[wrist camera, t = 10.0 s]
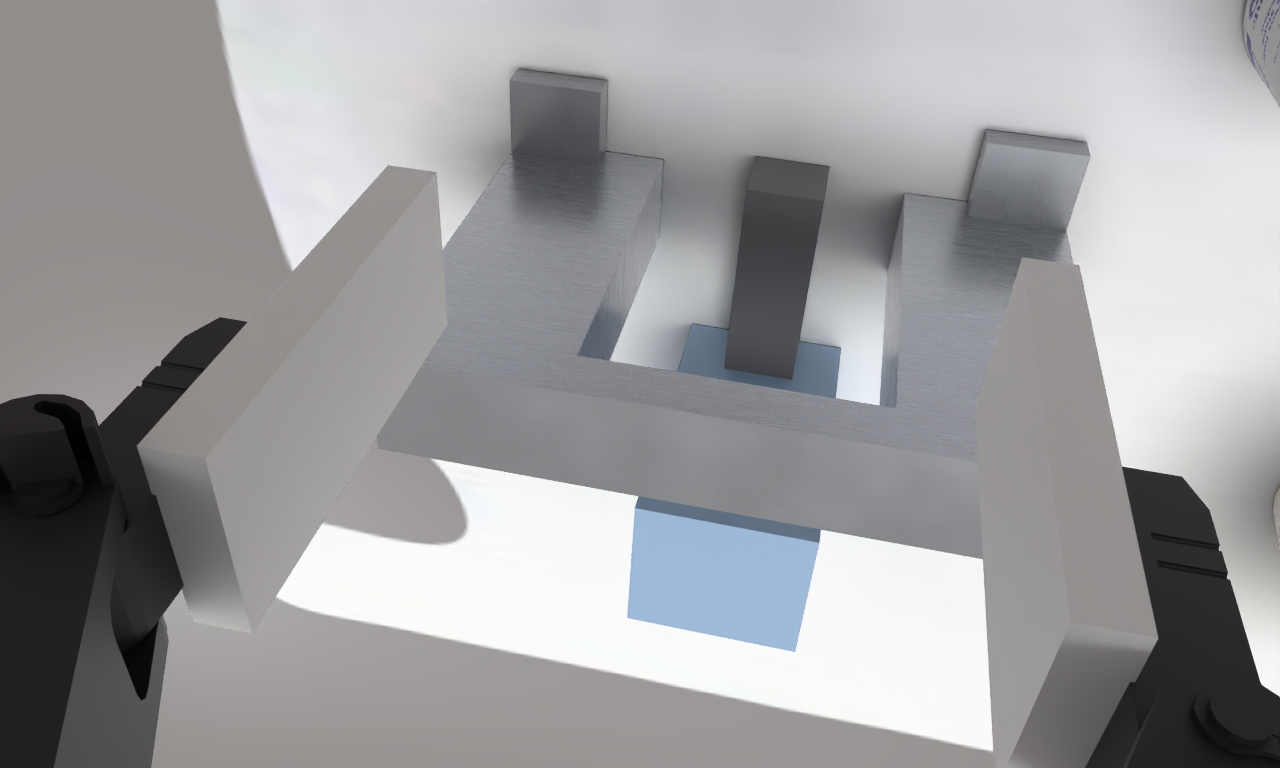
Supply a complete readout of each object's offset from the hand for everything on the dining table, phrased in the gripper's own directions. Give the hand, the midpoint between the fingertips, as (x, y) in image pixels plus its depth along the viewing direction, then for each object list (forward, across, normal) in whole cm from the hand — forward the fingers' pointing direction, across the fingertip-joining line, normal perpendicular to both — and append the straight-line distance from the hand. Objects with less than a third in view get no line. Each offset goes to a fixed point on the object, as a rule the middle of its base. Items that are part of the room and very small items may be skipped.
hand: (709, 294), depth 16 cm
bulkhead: (+19, 0, -9) cm, 21 cm away
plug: (+19, 0, -13) cm, 23 cm away
